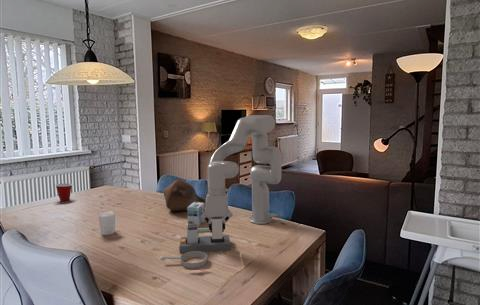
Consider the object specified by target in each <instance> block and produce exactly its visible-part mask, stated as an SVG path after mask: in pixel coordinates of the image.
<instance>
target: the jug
mask: <svg viewBox="0 0 480 305" xmlns="http://www.w3.org/2000/svg"><path fill="white" fill-rule="evenodd" d="M163 196H164V199H165V206H166V208H167V209H169V210H172V211H176V212H184V211H187V207H188V206H190V205H191V204H192V203H193V202H200V203H205V202H206V198H204V197H200V196H199V195H198V194H197V191H196V189H195V187H194V186H193V185H192V184H190V183H189V182H187V181H185V180H182V179H176V180H174V181H173V182H172V183H171V184H169V185H168V186H166V187H165V188H164V189H163Z"/></svg>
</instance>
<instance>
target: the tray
mask: <svg viewBox="0 0 480 305" xmlns="http://www.w3.org/2000/svg"><path fill="white" fill-rule="evenodd" d="M200 232H201V233H203V232H204V233H205V232H211V230H209V227H200V228H199V227H198V233H200ZM208 236H212V234H211V235H208Z"/></svg>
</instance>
